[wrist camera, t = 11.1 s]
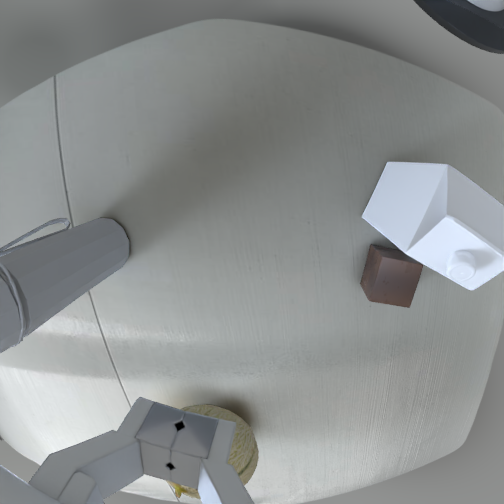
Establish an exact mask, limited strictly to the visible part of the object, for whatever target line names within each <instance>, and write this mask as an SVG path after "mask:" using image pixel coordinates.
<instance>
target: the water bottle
mask: <svg viewBox="0 0 504 504" xmlns="http://www.w3.org/2000/svg"><path fill="white" fill-rule="evenodd" d="M55 223H64V224H65V225H66V226H67V227H66V229H63V230H60V231H57V232H54V233H52V234H49V235H46V236H43V237H40V238H37V239H34V240H32V241H29V242H26V243H23V244H21V245H18V246H15V247H13V248H10V249H7V248H8V247H10V246H12V245H14V244H15V243H17V242H19V241H21V240H22V239H24V238H26V237H28V236H30V235H31V234H33V233H35V232H37V231H39V230H41V229H43V228H44V227H46V226H48V225H51V224H55ZM69 227H70V222H69V221H68V219H67V218H59V219H54V220H51V221H49V222H47V223H45V224H43V225H41V226H39V227H37V228H36V229H34V230H32V231H30V232H28V233H26V234H25V235H23V236H21V237H19V238H18V239H16V240H14V241H12V242H11V243H9V244H7V245H5V246H4V247H2V248H0V256H1V257H0V353H2V352H3V351H5V350H7V349H8V348H10V347H13V346H16V345H17V344H19V343H20V342H21V341H23V337H25V336H28V335H29V334H30V333H32V332H33V331H34V330H35V329H37V328H38V327H39V326H41V325H42V324H43V323H45V322H46V321H47V320H49V319H50V318H51V317H53V316H54V315H55V314H57V313H58V312H60V311H61V310H62V309H64V308H65V307H66V306H68V305H69V304H70V303H72V302H73V301H75V300H76V299H77V298H79V297H80V296H82V295H83V294H84V293H86V292H87V291H89V290H90V289H91V288H93V287H94V286H96V285H97V284H98V283H100V282H101V281H103V280H104V279H106V278H107V277H109V276H110V275H111V274H113V273H114V272H116V271H117V270H119V269H120V268H122V267H123V265H124V264H125V262H126V260H127V259H128V257H129V240H128V238H127V236H126V233H125V231H124V229H123V228H122V227H121V226H120V225H119V224H118V223H116V222H115V221H114V220H113V219H107V218H98V219H95V220H93V221H90V222H87V223H84V224H82V225H79V226H76V227H73V228H71V229H68V228H69ZM5 249H7V250H5ZM3 250H5V251H3ZM10 252H11V253H10ZM7 253H8V254H7ZM5 254H6V255H5ZM2 255H4V256H2Z"/></svg>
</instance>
